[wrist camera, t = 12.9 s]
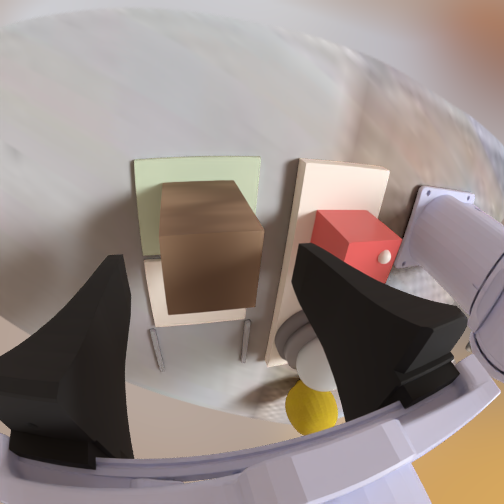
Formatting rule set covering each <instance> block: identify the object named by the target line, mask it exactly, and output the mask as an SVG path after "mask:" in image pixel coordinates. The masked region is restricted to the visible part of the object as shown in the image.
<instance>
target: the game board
mask: <svg viewBox="0 0 504 504" xmlns="http://www.w3.org/2000/svg"><path fill="white" fill-rule="evenodd" d="M260 163H261V157H260V156H191V157H167V158H150V159H136V160H134V170H135V186H136V199H137V210H138V220H139V229H140V237H141V245H142V252H143V256H146V255H160V245H159V222H160V207H161V195H162V183H165V182H185V181H215V180H234V181H235V183H236V184H237V186H238V188H239V189H240V191H241V193H242V194H243V196H244V197H245V199H246V201H247V202H248V204H249V206H250V207H251V209H252V210H253V212H254V214H255V213H256V203H257V193H258V183H259V173H260ZM389 173H390V171H389V170H387V169H386V168H384V167H382V166H376V165H368V164H359V163H350V162H341V161H330V160H318V159H304V158H299V165H298V172H297V179H296V186H295V192H294V199H293V205H292V211H291V218H290V224H289V230H288V236H287V242H286V248H285V254H284V260H283V265H282V271H281V277H280V282H279V288H278V293H277V299H276V304H275V309H274V315H273V320H272V325H271V330H270V335H269V340H268V345H267V350H266V355H265V361H266V364H267V367H271V366H277V365H282V364H287V363H288V362H287V360H286V358H285V355H284V346H285V344H286V342H287V340H288V339H289V338H290V337H291V336H292V335H293V334H294V333H295V332H296V331H297V330H298V329H300V328H301V327H303V326H305V325H307V324H309V323H310V322H309V321H308V319H307V317H306V315H305V313H304V311H303V309H302V308H301V306H300V304H299V302H298V300H297V297H296V294H295V292H294V289H293V286H292V283H291V280H292V275H293V270H294V265H295V260H296V255H297V250H298V245H299V243H310V241H311V236H312V231H313V227H314V222H315V217H316V212H317V210H367V211H369V212H370V213H371V214H372V215H374V216H375V217H376V218H377V219H378V215H379V212H380V208H381V205H382V201H383V197H384V193H385V189H386V186H387V182H388V177H389ZM144 266H145V273H146V279H147V285H148V291H149V296H150V302H151V307H152V312H153V317H154V322H155V327H166V326H179V325H191V324H202V323H212V322H222V321H231V320H240V319H245V313H246V308H241V309H232V310H222V311H212V312H201V313H190V314H178V315H168V311H167V304H166V297H165V290H164V282H163V273H162V265H161V259H147V260H144ZM250 323H251V322H250V320H245V324H244V334H243V344H242V354H241V363H245V362H246V356H247V348H248V340H249V331H250ZM150 333H151V337H152V341H153V345H154V349H155V353H156V357H157V361H158V364H159V368H160V371H161V372H162V371H165V368H164V364H163V360H162V356H161V352H160V348H159V344H158V339H157V335H156V330H155V329H150Z"/></svg>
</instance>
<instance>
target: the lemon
mask: <svg viewBox="0 0 504 504" xmlns="http://www.w3.org/2000/svg"><path fill="white" fill-rule="evenodd" d="M285 408H286V413H287V416H288V418H289V420H290V422H291V424H292V425H293V426H294V428H295V429H296V430H297V431H298V432H299V433H300V434H302V435H304V436H305V435H308V434H312V433H315V432H319V431H322V430H325V429H328V428H331V427H334V425H335V424H336V421H337V417H338V409H337V405H336V401H335V399H334V397H333V395H332V393H331V392H330V391H328V392H321V391H316V390H313V389H311V388H309V387H308V386H306V385H305V384H304V383H303V382H302V380H298V381H297V383H296V385H295V386H294V387H293V388H292V389H291V390H290V391H289V393H288V395H287V397H286V402H285Z"/></svg>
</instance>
